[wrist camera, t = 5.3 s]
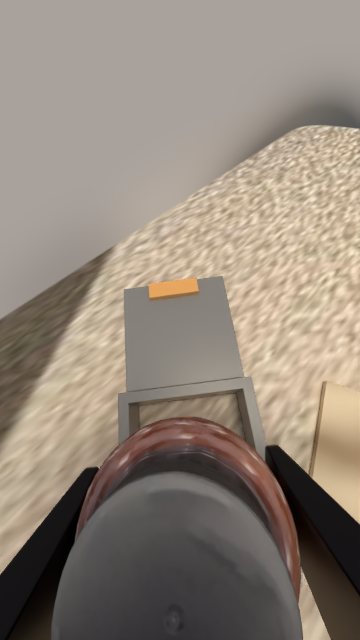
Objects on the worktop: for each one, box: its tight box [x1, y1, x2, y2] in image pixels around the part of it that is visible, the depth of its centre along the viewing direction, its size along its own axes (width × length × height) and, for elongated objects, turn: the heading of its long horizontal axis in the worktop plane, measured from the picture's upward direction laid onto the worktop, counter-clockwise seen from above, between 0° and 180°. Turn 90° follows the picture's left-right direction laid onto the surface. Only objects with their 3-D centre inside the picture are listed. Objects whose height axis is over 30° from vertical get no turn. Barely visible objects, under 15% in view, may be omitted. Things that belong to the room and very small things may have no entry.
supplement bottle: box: [51, 417, 303, 640], centre depth 9 cm, size 6×6×11 cm
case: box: [118, 276, 267, 461], centre depth 21 cm, size 22×11×4 cm, turn 7°
